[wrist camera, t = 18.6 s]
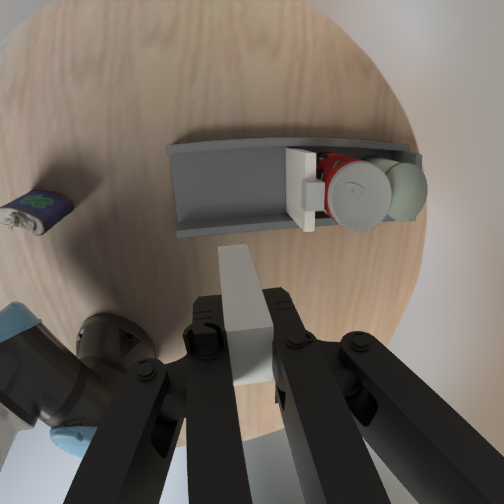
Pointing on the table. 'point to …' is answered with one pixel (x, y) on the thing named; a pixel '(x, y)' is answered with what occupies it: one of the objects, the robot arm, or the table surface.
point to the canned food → (353, 191)
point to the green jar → (403, 187)
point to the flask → (36, 211)
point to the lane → (253, 180)
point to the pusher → (303, 188)
